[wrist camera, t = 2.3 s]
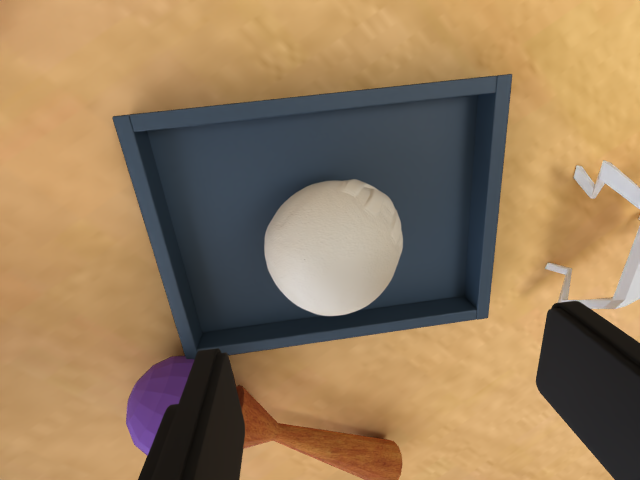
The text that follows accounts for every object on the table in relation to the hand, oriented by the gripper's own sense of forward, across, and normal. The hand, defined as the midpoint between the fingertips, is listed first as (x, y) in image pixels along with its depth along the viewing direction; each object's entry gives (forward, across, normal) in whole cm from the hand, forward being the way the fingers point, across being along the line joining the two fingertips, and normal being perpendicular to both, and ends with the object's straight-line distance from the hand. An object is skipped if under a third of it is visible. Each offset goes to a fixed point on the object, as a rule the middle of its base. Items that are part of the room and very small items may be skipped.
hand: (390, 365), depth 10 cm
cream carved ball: (+12, +1, 0) cm, 13 cm away
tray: (+13, +1, 0) cm, 13 cm away
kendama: (+13, +6, +14) cm, 20 cm away
